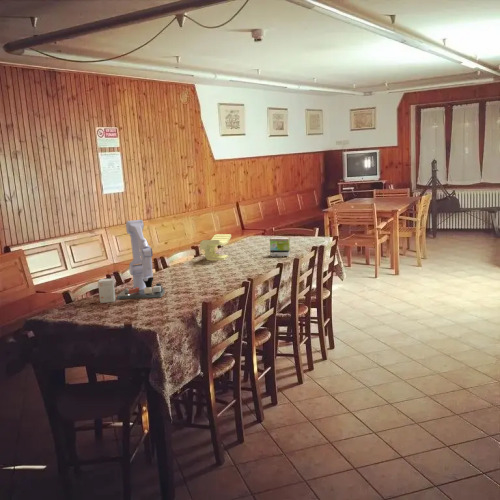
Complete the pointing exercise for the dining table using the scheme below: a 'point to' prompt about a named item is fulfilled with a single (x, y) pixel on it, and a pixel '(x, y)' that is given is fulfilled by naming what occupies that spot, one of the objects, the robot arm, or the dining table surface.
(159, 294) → the console
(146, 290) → the cream block
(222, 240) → the slatted curved stool
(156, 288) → the grey block
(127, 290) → the red lever
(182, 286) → the dining table surface
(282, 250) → the tea box
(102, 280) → the small box
